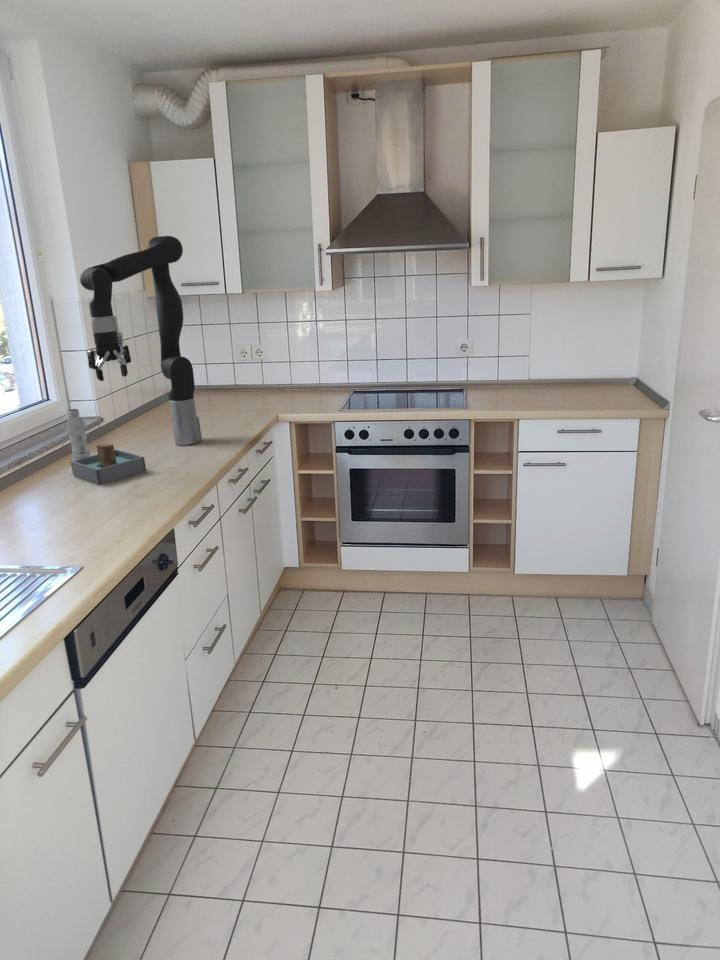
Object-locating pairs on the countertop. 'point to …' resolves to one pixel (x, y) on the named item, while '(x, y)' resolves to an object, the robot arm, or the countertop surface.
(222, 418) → the countertop surface
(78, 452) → the plastic bottle
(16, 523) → the countertop surface
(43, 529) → the countertop surface
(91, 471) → the box
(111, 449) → the peg
